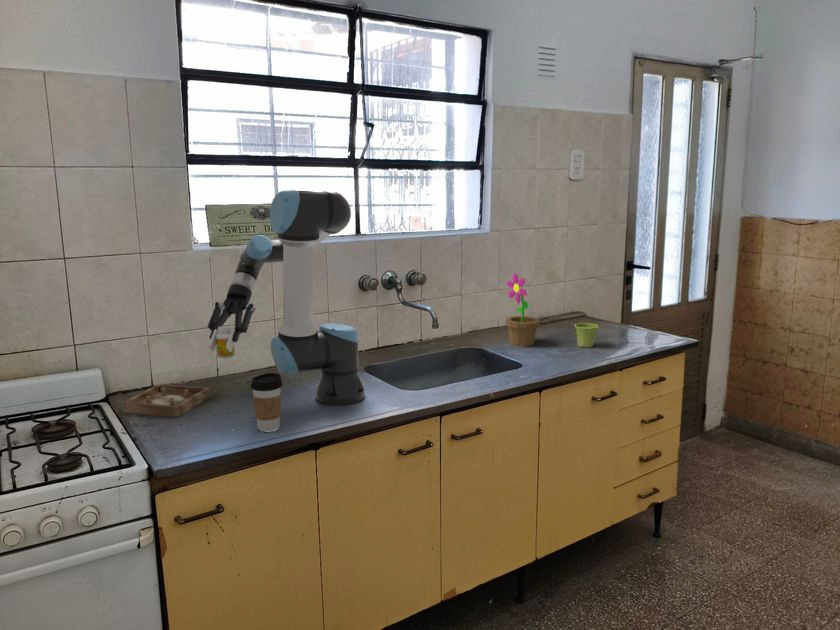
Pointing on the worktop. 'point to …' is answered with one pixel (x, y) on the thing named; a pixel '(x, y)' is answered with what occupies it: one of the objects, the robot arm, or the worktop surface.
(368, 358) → the worktop surface
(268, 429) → the coffee cup
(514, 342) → the flowerpot
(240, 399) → the worktop surface
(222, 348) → the supplement bottle
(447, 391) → the worktop surface
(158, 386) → the pin tray
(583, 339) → the plant pot
